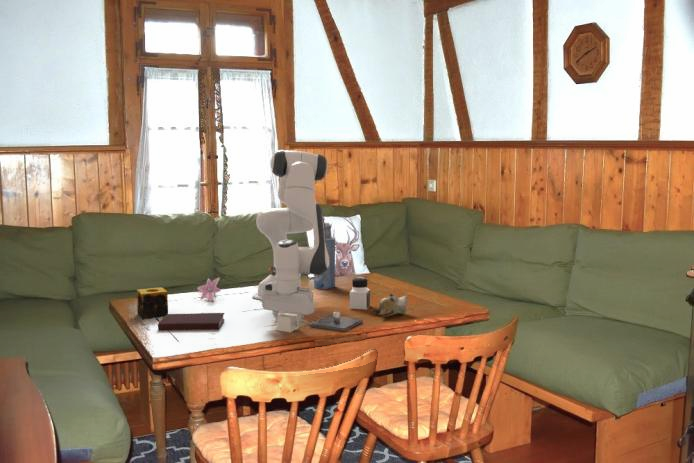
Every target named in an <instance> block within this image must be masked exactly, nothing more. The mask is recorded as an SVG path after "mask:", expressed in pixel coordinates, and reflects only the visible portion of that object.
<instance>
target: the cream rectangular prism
mask: <svg viewBox="0 0 694 463" xmlns="http://www.w3.org/2000/svg"><path fill="white" fill-rule="evenodd" d="M278 315H279V316H277V323H276V324H277V326H276V329H277V331H279V332H285V333H292V332H294V330H295V331H297V330H299V327H300V326H295V321H297V320H298V318H299V317H297V314H294V313H287V312H283V313H281V314H278Z"/></svg>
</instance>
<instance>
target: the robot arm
mask: <svg viewBox="0 0 694 463" xmlns="http://www.w3.org/2000/svg"><path fill="white" fill-rule="evenodd" d="M328 166H329V165H328V161H327V158H326V156H324V155H322V154H320V153H317V154H316V153H312V152H309V151H302V150H301V151H299V150H285V149H279V150H275V151H274V153H273V155H272V156H271V160H270V168H271V173H272V174H273V175H274V176H275V177H278V178H279V183H278V184H279V185H278V189H277V198H278V199H279V201H280V202H281V203H282V204H284V205H285V206H286V207H275V208H274V207H273V208H268V209H264V210H261V211H259V212H258V214H257V216H256V219H255V220H256V222H255V224H256V228H257V230H258V231H259V232H260V233H261V234H262V235H264V236H265V237H266V238H267V239H268V240H269V242H270V245H271V247H272V253H273V254H272V255H273V265H272V266H270V267H268V271H270V274H269V275H268V276H267V277H265V278H264V279H263V280H262V281H260V282H259V284H258V286H257V287H258V288H257V292H256V293H254V294H253V295H252V299H255V300H261V306H262V308H263V310H265V311H271V312H272V315H273V317H274V319H275V323H276V324H277V316H279V315H280V314H279V313H280V312H281V313H290V314H297V317H298V320H297V321H295V326H299V327H300V326H302V320H303V319H304V317H305V316H310V315H312V314H314V312H315V302H314V292H313V291H312V290H311V289H310V288H305V287H302V280H301V278H302V274H310V275H314V274H315V275H321V274H323V273H324V272H325V271H326V270H327V269H328V268H329V255H328V250H327V243H326V233H325V224H324V222H325V219H324V218H325V217H324V211H323V207H322V206H321V205H320V204H319V203H318V202H317V200H316V197H315V196H316V195H315V192H316V190H315V189H316V186H315V185H316V182H317V181H318V182H319V181H322V180H323V179H324V178H325V177H326V175H327V173H328ZM312 230H313V243H314V242H315V245H314V244H313V246H299V243H298V241H297V240H294V239H288V236H287V235H288V234H302V233H305V232H309V231H312Z"/></svg>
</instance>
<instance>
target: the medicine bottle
mask: <svg viewBox="0 0 694 463" xmlns="http://www.w3.org/2000/svg"><path fill="white" fill-rule="evenodd" d="M351 284H352V285H351V286H352V289H351V290H350V291H349V309H350V310H367V311H368V309H369V307H370V305H371V289H370V288H368V279H367V278H365V277H355V278H353V279H352V283H351Z"/></svg>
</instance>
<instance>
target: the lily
mask: <svg viewBox="0 0 694 463" xmlns="http://www.w3.org/2000/svg"><path fill="white" fill-rule="evenodd" d="M219 281H220V277H217V278H214V279H213V280H211V279H210V278H207V280H206V283H205V284H203V285H202V284H201V285H199V286H198V287H197V288H196V289H197V290H198V291H200V293H202V295H201V297H200V301H202V300H203V299H205V298H206V299H207V300H208V301H209V302H210V303H211V302H212V301H213V297H215V298H217V296H216V293H219V292H221V291H222V290H221V288H219V287H217V285H218V283H219Z"/></svg>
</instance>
